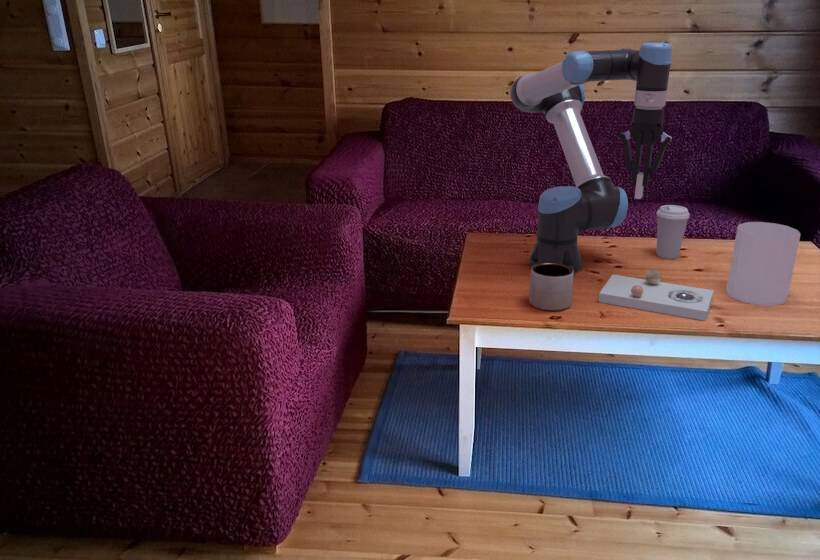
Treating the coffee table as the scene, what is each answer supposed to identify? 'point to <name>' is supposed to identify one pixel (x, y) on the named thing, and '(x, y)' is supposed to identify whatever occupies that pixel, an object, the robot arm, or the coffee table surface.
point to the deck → (657, 297)
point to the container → (762, 263)
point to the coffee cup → (670, 230)
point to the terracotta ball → (637, 291)
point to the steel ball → (683, 296)
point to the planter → (551, 286)
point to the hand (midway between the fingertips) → (638, 197)
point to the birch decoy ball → (653, 276)
